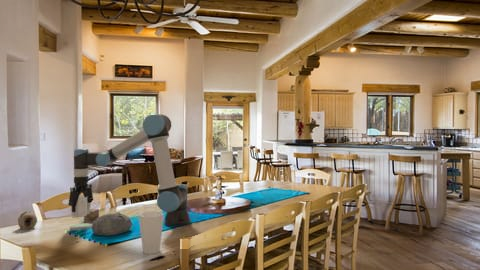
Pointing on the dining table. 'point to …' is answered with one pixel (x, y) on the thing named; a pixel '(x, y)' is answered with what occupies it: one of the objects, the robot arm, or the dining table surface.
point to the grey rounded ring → (27, 220)
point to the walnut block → (92, 215)
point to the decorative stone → (111, 224)
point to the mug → (81, 206)
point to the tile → (86, 221)
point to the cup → (151, 231)
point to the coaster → (81, 226)
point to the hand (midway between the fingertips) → (81, 215)
